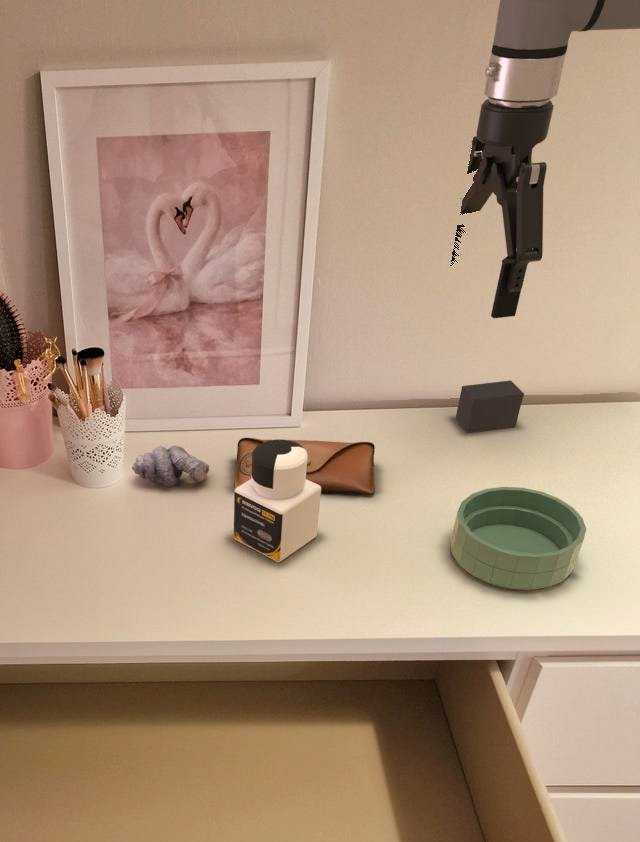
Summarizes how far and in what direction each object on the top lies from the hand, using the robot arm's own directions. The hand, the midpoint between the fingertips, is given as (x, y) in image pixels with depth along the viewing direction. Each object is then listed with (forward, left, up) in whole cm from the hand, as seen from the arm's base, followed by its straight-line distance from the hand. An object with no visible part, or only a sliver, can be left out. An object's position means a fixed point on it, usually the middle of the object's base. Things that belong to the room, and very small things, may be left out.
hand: (478, 295), depth 109 cm
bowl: (+6, +30, -18) cm, 36 cm away
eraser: (-4, +1, -18) cm, 18 cm away
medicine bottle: (+31, +21, -18) cm, 42 cm away
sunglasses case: (+24, +9, -18) cm, 31 cm away
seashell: (+41, +6, -18) cm, 45 cm away
